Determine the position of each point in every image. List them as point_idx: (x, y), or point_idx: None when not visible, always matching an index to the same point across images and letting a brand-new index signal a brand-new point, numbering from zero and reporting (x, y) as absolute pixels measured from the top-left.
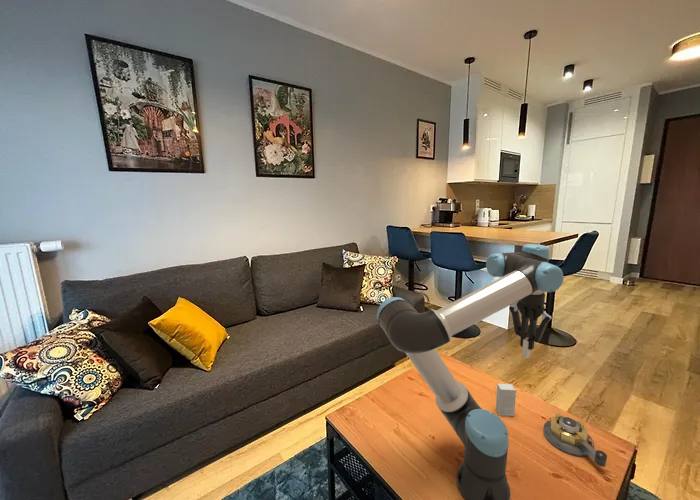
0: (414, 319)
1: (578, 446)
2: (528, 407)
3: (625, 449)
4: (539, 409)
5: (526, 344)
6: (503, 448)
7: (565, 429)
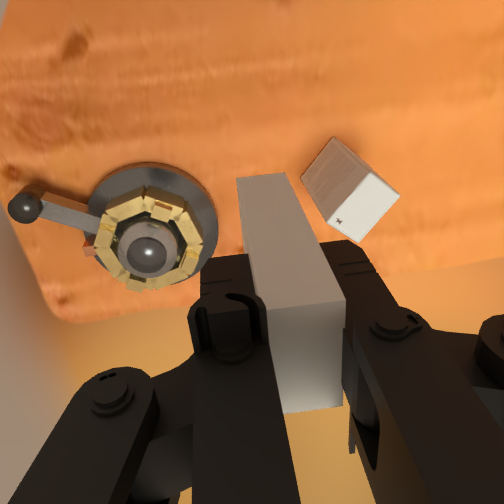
0: None
1: None
2: None
3: (63, 313)
4: None
5: (270, 264)
6: None
7: (143, 222)
